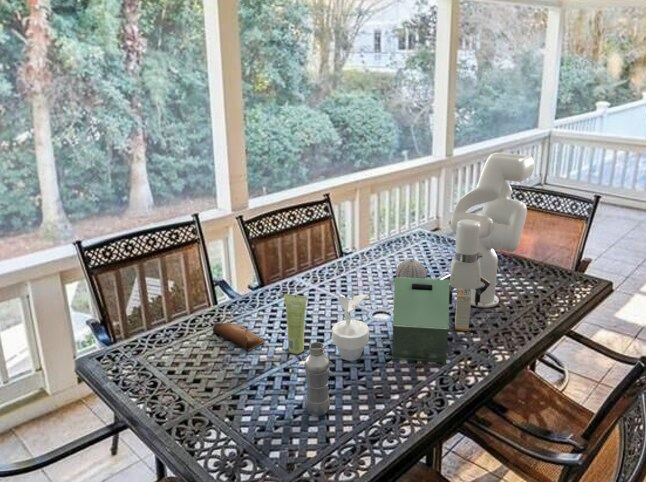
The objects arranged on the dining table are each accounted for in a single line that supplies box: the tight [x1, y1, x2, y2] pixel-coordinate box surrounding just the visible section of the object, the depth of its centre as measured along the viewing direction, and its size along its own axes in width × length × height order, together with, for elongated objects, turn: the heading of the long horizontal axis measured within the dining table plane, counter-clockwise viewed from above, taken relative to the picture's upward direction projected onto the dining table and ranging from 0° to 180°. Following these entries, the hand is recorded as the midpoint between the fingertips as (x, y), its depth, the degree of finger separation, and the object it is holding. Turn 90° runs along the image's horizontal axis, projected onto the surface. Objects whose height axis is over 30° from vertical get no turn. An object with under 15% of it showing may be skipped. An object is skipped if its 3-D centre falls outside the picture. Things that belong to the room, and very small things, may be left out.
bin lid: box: [392, 276, 450, 329], centre depth 161 cm, size 14×17×5 cm
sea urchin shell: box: [395, 259, 428, 279], centre depth 223 cm, size 13×14×8 cm
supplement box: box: [454, 288, 472, 332], centre depth 185 cm, size 8×5×13 cm, turn 168°
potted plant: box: [331, 290, 370, 362], centre depth 165 cm, size 13×12×25 cm
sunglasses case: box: [212, 322, 265, 352], centre depth 179 cm, size 18×7×7 cm
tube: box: [283, 293, 308, 355], centre depth 169 cm, size 6×5×20 cm
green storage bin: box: [391, 324, 449, 364], centre depth 170 cm, size 14×17×12 cm
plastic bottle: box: [304, 341, 331, 417], centre depth 140 cm, size 6×7×20 cm
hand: (463, 302), depth 185 cm, fingers open, 8 cm apart
